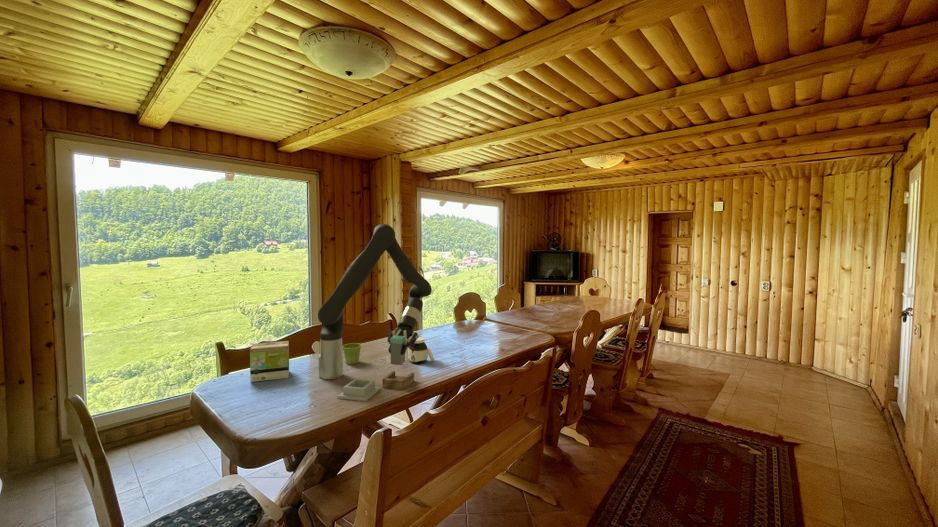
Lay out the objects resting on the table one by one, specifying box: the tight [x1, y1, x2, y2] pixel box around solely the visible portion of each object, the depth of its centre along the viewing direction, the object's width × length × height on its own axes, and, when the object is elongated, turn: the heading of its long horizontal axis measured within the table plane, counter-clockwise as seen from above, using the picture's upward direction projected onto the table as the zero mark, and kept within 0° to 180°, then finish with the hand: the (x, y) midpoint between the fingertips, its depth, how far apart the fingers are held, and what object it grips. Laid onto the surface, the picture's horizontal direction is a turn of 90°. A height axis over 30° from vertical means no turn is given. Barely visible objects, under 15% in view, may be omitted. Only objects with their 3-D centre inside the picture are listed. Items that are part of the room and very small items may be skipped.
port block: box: [337, 378, 381, 402], centre depth 150 cm, size 12×12×4 cm
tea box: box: [249, 340, 290, 383], centre depth 168 cm, size 15×10×15 cm, turn 114°
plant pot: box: [342, 342, 363, 365], centre depth 188 cm, size 9×9×9 cm
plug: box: [390, 335, 406, 366], centre depth 159 cm, size 5×5×11 cm
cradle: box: [382, 370, 415, 390], centre depth 160 cm, size 10×10×4 cm
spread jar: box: [407, 336, 435, 365], centre depth 190 cm, size 12×11×12 cm
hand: (395, 353), depth 157 cm, fingers closed on plug, 4 cm apart
